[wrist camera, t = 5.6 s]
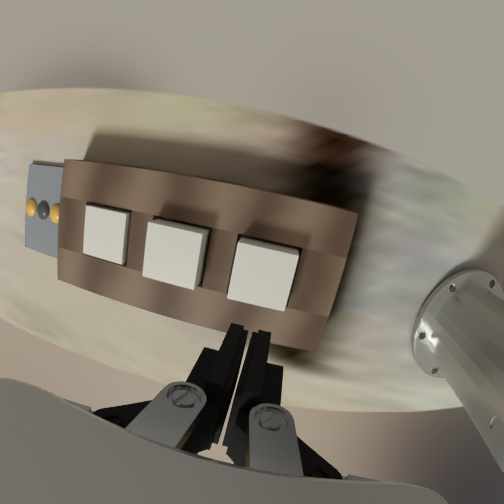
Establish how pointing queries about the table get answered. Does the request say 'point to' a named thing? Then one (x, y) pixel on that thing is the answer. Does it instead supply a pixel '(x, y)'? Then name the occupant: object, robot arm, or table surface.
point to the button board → (218, 248)
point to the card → (43, 208)
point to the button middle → (175, 252)
